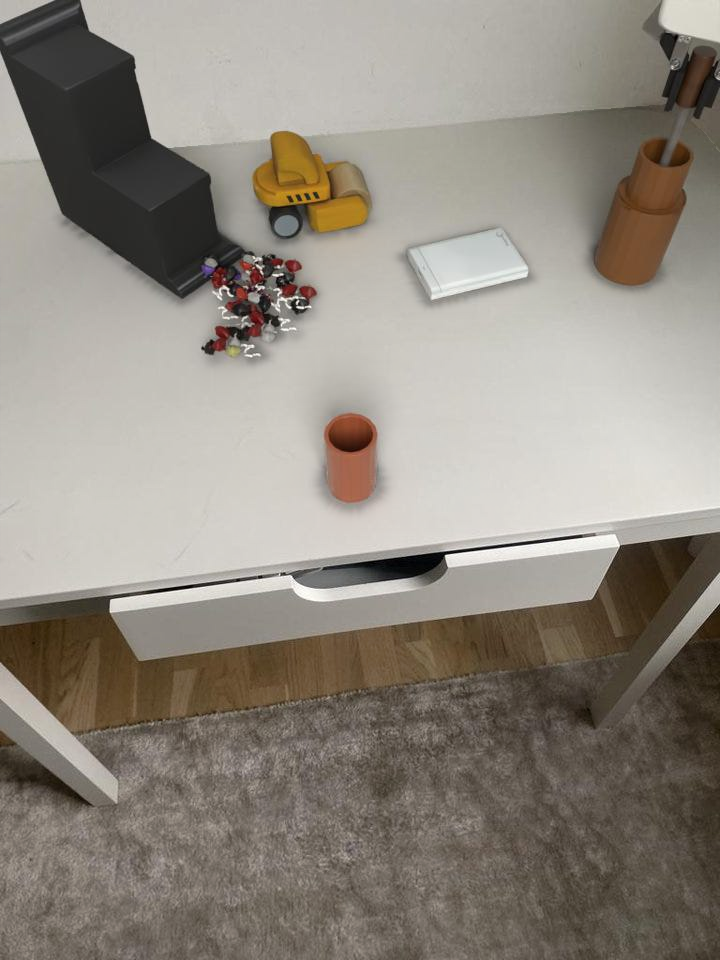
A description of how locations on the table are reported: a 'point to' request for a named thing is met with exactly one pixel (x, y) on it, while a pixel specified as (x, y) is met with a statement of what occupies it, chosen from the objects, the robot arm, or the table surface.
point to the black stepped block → (110, 149)
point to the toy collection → (253, 299)
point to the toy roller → (309, 188)
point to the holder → (351, 457)
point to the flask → (644, 214)
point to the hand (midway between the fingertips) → (684, 106)
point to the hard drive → (467, 263)
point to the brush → (689, 94)
